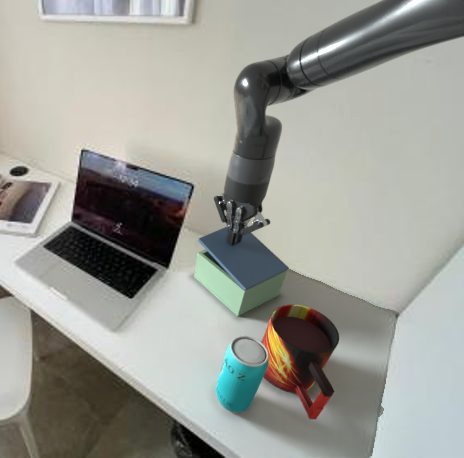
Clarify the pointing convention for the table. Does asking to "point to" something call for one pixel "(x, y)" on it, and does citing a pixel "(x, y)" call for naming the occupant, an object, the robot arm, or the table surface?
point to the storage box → (234, 285)
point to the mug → (300, 353)
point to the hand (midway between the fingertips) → (232, 242)
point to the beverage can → (241, 373)
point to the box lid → (243, 258)
